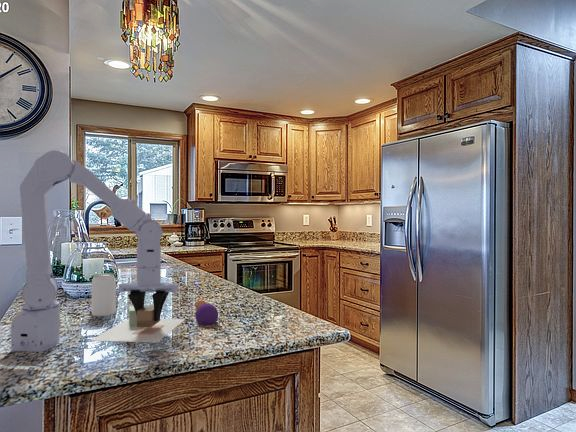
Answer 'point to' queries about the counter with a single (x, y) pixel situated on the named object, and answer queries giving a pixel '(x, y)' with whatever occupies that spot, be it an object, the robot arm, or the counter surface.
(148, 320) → the walnut brick
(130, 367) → the counter surface
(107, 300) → the can
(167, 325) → the baseplate
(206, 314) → the kendama
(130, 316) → the sage brick
